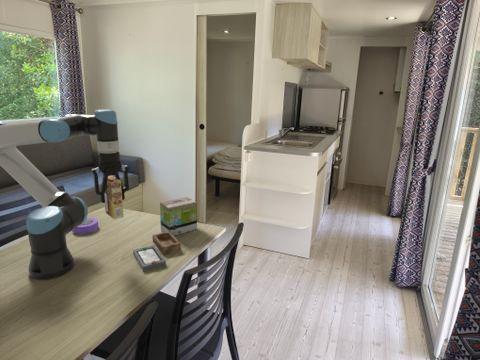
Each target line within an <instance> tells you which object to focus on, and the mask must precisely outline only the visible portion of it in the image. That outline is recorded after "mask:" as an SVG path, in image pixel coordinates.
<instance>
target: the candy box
mask: <svg viewBox="0 0 480 360" xmlns="http://www.w3.org/2000/svg"><path fill="white" fill-rule="evenodd" d="M101 179H103V176H102V177H101ZM121 183H122V181H121V179H120V180H119V179H116V178H115V176H114V175H110V176H108V179H107V184H106V189H105V193H106V195H107V203H108V211H106V210H105V214H107V215H108V216H109V217H110V218H111V219H112V220H117V219H121V218H122V219H123V218H124V215H125V214H124V205H123V200H122V190H121Z"/></svg>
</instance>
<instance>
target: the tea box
mask: <svg viewBox="0 0 480 360" xmlns="http://www.w3.org/2000/svg"><path fill="white" fill-rule="evenodd" d="M159 208H160V209H159V213H160V215H159V217H160V231H162V233H163V232H168V231H170V232H171V233H172V234H173V236H174V237H175V236H178V235H181V234H186V233H188V231H189V232H193V231H196V230H197V229H198V202H197V201H195V200H193V199H191V198H190V197H188V196H185V197H181V198H180V197H179V198H175V199H172V200H165V201H160V202H159ZM195 229H196V230H195ZM192 230H193V231H192Z"/></svg>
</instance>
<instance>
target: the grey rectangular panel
mask: <svg viewBox="0 0 480 360" xmlns="http://www.w3.org/2000/svg"><path fill="white" fill-rule="evenodd" d="M138 255H139V256H140V258H141V260H142V261H143V263H144V264H148V263H152V261H160V259H159V257H158V256H157V255H156V253H155V252H154V250H153V249H148V250H144V251H139V252H138Z"/></svg>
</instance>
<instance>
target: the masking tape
mask: <svg viewBox="0 0 480 360" xmlns="http://www.w3.org/2000/svg"><path fill="white" fill-rule="evenodd" d="M97 230H99V220H98V219H97V218H95V217H87V218H86V219H85V221H84V222H83V223H82V224H81V225H80V226H78V227H76V228H75V229H73V230H72V231H71V232H72V233H73V232H74V233H73V234H75V233H76V234H75V235H86V234H91V233H93V232H96V231H97Z"/></svg>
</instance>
